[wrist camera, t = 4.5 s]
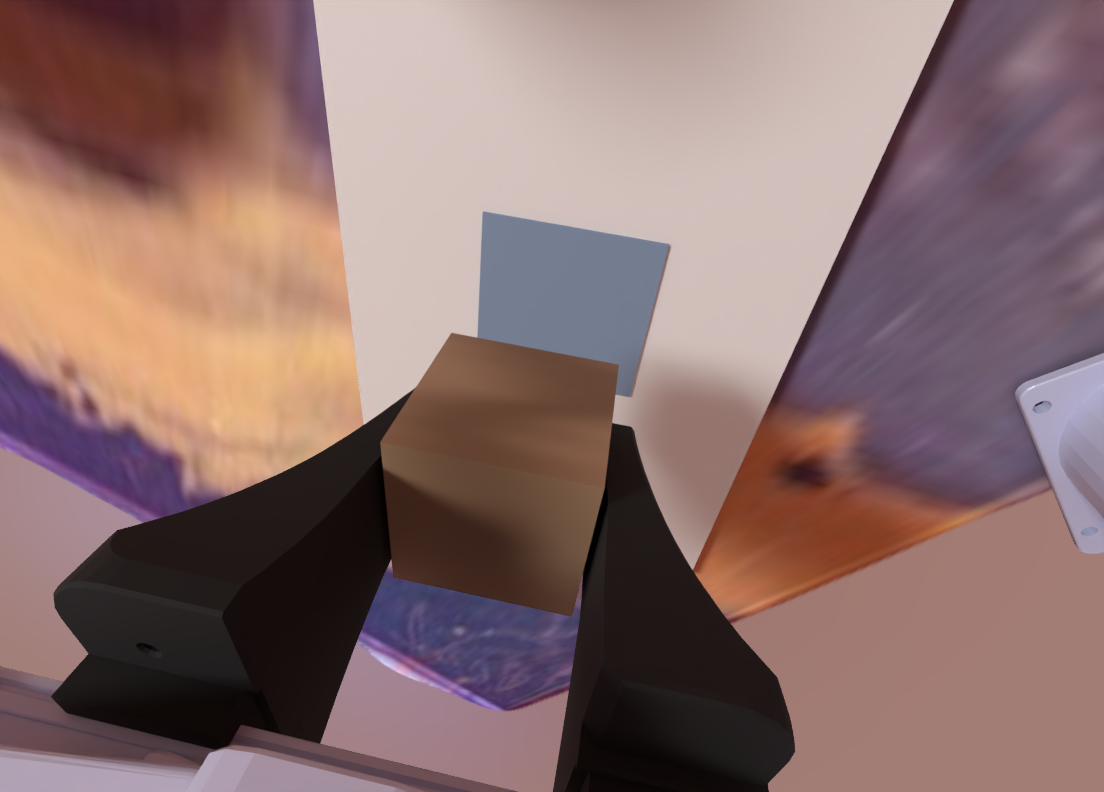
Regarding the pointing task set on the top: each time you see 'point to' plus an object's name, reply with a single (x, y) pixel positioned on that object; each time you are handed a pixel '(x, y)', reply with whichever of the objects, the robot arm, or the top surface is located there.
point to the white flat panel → (611, 194)
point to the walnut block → (499, 472)
